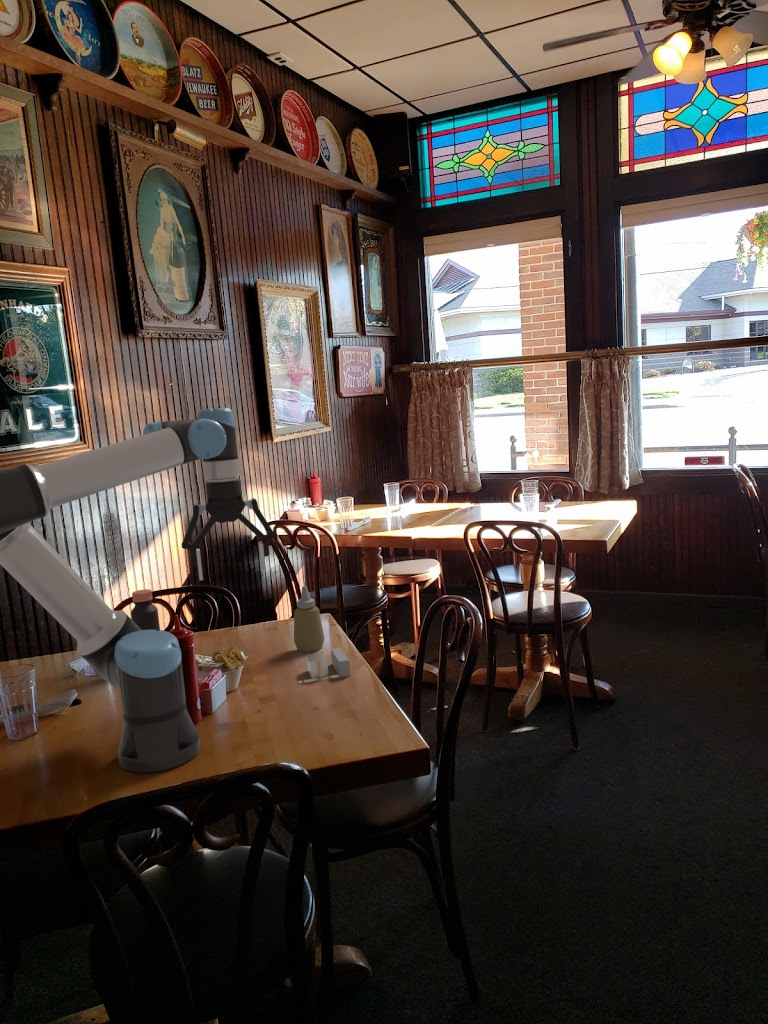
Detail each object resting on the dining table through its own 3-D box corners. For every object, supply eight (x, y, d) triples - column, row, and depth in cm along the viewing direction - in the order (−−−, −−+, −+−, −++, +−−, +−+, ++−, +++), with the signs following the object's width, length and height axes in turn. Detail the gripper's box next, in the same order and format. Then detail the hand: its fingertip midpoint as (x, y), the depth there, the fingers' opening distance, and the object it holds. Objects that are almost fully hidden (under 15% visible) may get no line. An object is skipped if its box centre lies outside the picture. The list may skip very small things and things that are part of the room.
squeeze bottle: (319, 658, 196) (313, 590, 193) (290, 657, 198) (283, 590, 196) (330, 648, 204) (324, 583, 201) (302, 647, 206) (296, 583, 203)
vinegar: (132, 667, 200) (123, 593, 197) (155, 659, 205) (146, 587, 202) (146, 671, 196) (137, 596, 193) (169, 663, 201) (160, 590, 198)
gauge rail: (350, 681, 178) (349, 660, 178) (287, 691, 175) (285, 670, 174) (342, 667, 188) (340, 647, 187) (281, 677, 184) (279, 656, 183)
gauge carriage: (329, 677, 178) (328, 661, 177) (312, 680, 177) (311, 664, 176) (324, 668, 185) (322, 652, 184) (307, 670, 184) (306, 654, 183)
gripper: (277, 473, 172) (286, 564, 175) (163, 483, 166) (174, 578, 169) (282, 475, 165) (290, 571, 168) (162, 486, 159) (174, 585, 162)
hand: (232, 575), depth 168 cm, fingers open, 13 cm apart
